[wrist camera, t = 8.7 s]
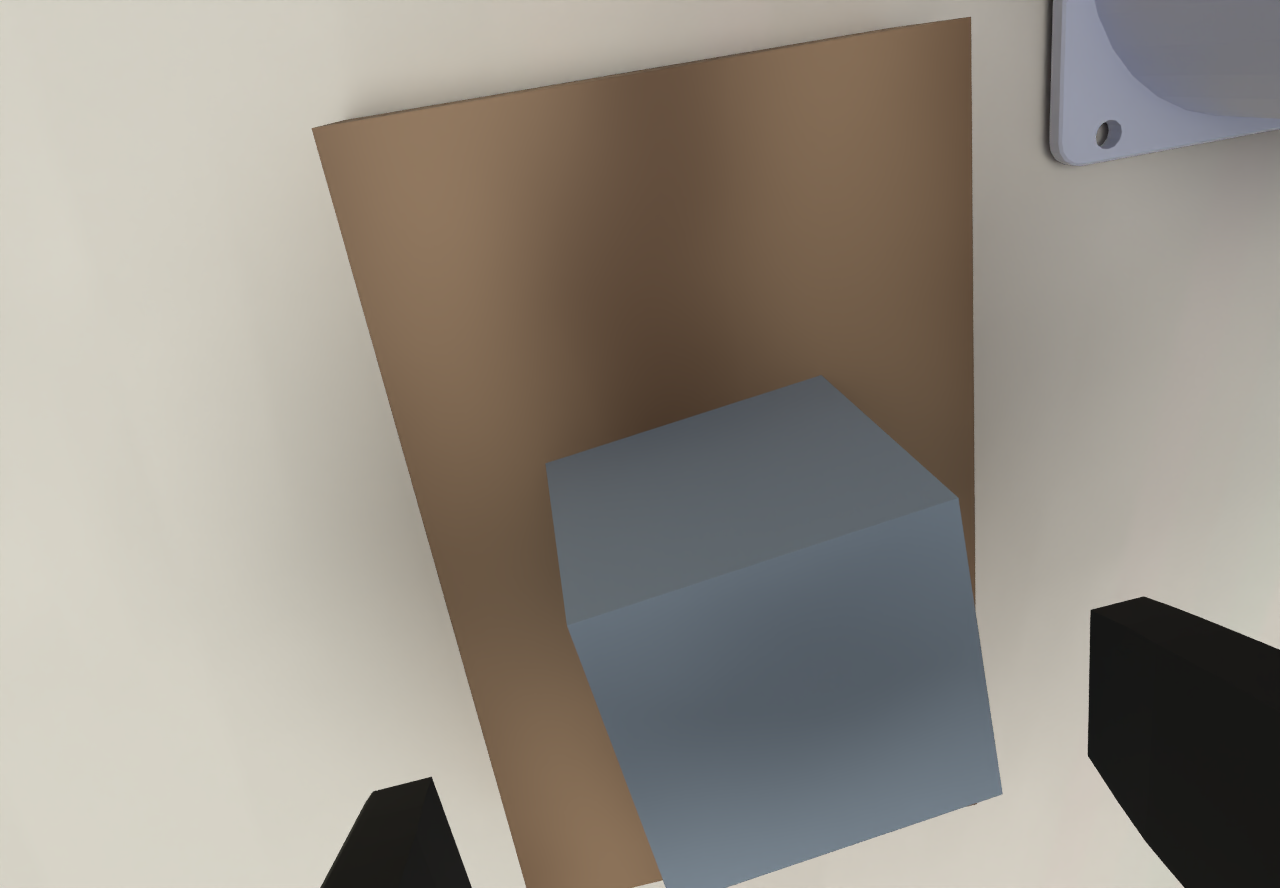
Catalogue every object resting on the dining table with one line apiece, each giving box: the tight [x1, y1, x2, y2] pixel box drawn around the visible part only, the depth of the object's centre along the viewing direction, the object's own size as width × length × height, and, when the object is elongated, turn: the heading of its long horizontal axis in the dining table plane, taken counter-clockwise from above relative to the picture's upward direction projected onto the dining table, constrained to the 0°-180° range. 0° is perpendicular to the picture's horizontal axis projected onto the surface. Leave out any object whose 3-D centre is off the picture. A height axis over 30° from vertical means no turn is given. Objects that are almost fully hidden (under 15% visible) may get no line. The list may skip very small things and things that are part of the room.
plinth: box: [312, 17, 977, 888], centre depth 18 cm, size 10×16×3 cm, turn 9°
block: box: [545, 375, 1002, 888], centre depth 14 cm, size 5×5×5 cm
